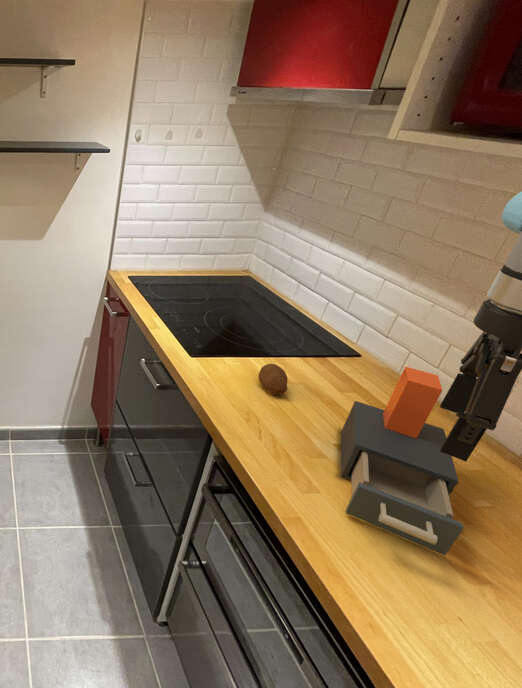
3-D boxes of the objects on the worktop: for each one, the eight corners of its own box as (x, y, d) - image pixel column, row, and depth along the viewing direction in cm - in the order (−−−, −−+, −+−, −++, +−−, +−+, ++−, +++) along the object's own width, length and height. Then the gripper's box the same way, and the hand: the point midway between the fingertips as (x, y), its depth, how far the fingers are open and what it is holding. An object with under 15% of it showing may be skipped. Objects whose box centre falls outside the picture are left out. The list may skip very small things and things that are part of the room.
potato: (261, 396, 115) (268, 376, 112) (250, 375, 123) (256, 356, 121) (290, 401, 113) (297, 380, 111) (277, 378, 122) (283, 359, 119)
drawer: (449, 576, 72) (469, 548, 69) (345, 530, 79) (359, 502, 76) (432, 494, 86) (448, 468, 84) (345, 461, 94) (357, 436, 91)
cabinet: (437, 515, 83) (459, 481, 80) (340, 476, 91) (356, 444, 87) (425, 460, 96) (444, 428, 92) (341, 430, 103) (354, 400, 100)
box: (413, 422, 94) (438, 375, 89) (416, 438, 89) (442, 390, 84) (382, 412, 96) (405, 366, 91) (384, 428, 92) (408, 380, 87)
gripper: (590, 355, 49) (493, 494, 57) (551, 289, 65) (481, 404, 74) (492, 331, 53) (416, 462, 62) (479, 275, 70) (421, 385, 79)
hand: (451, 431), depth 68 cm, fingers open, 13 cm apart
